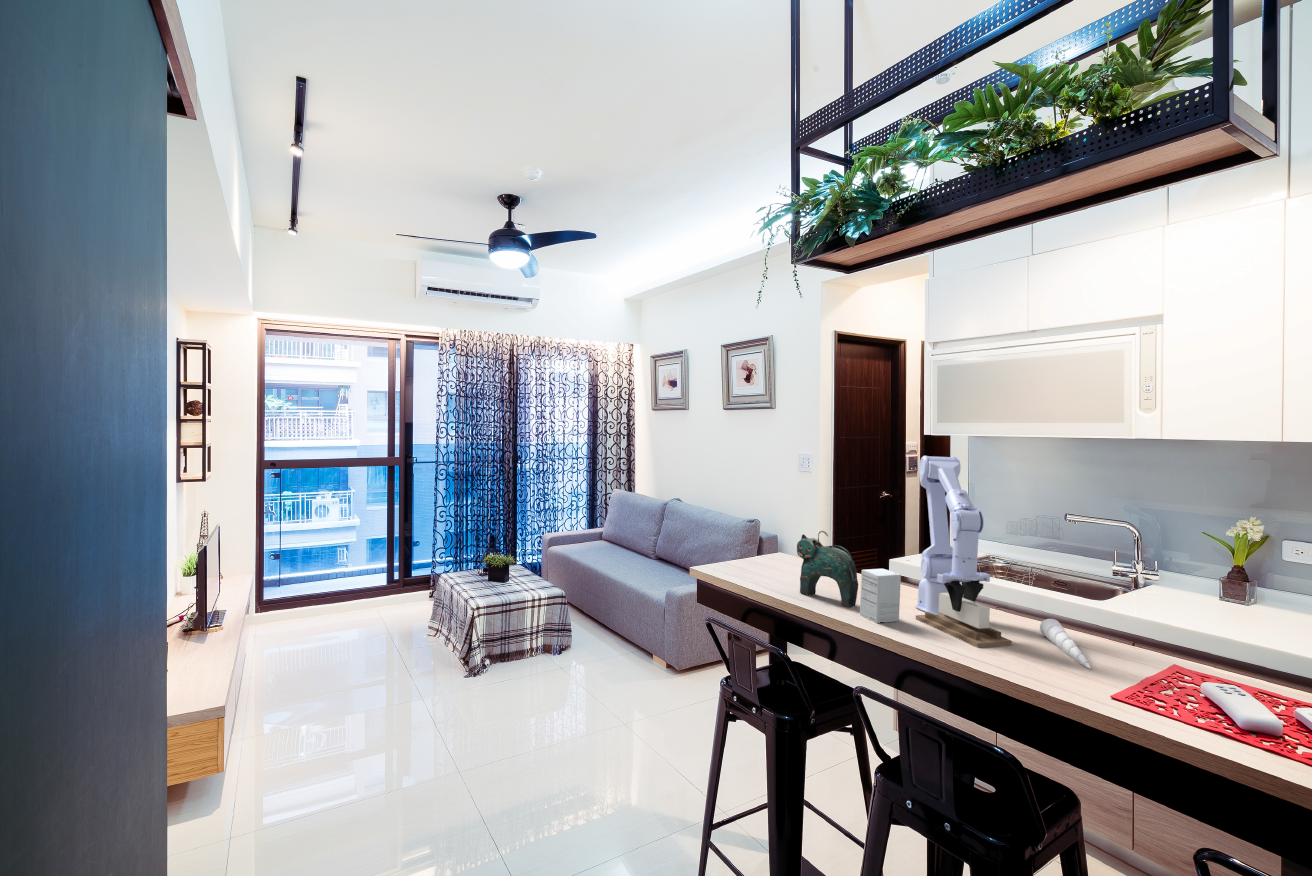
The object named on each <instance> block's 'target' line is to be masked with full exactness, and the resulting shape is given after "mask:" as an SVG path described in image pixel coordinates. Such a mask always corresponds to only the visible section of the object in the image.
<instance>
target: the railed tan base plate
mask: <svg viewBox="0 0 1312 876" xmlns="http://www.w3.org/2000/svg"><path fill="white" fill-rule="evenodd" d="M915 620H917V621H919V622H921V621H922V622H921V623H923V622H924V624H925V623H926V625H928V626H930V627H932V628H934V629H936V628H937V630H939V631H941V632H943V633H946V634H947V633H948V634H947V635H949V634H950V635H949V636H952V637H954V638H956V639H958V638H959V639H958V640H960V639H961V641H962V640H963V642H965V643H967V644H969V645H971V646H973V647H976V648H988V647H1002V646H1003V647H1004V646H1012V645H1013V640H1011V639H1008V638H1006V637H1004V636H1002V631H999V630H996V629H995V628H992V627H990V626H989V628H982V629H978V628H976V627H974V626H971V625H969V624H966V623H964V622H962V621H959V620H957V619H954V618H952V617H950V616H947V615H945V614H934V613H931V612H925V611H924V614H917V615H915Z"/></svg>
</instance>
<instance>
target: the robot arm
mask: <svg viewBox="0 0 1312 876" xmlns="http://www.w3.org/2000/svg"><path fill="white" fill-rule="evenodd" d="M918 473H919V474H918V475H919V483H920V486H921V487H923V488H924V489H925V490H926V491H925V492H926V498H927V510H928V521H929V534H930V535H929V537H930V546H929V547H927V548H926V549H924V550H923V551H922V553H921V561H920V573H921V575H922V577H923V578H922V579H921V580H920V582H919V583H918V592H917V605H915V606H914V608H915V609H918V610H921V611H922V612H924V613H925V612H931V613H934V614H942V613H940V612H938V609H939V593H949V596H950V600H951V604H952V609H953V610H955V611H958V612H960V610H961V605H962V598H965V599H968V600H970V601H973V602H976V600H977V598H978V596H979V595H980V593H981V592H982V590H983V589H984V583H981V582H986V583H987V582H988V583H989V582H991V574H990V573H988V572H978V557H979V555H978V554H979V552H978V551H979V534H980V533H982V532H983V530H984V523H985V522H984V516H983V512H982V511H981V510H980V509H979V508H977V507H974V504H973V502H972V500H971V498H970V496H969V494H968V492H967V491H966V490H964V489H962V487H961V485H960V483H961V482H960V481H959V476H960V474H961V462H960V459H958V457H957V456H953V457H952V456H951V457H950V456H949V457H948V456H929V455H923V456H922V457H921V458H920V460H919V466H918ZM947 509H948V510H949V513H950V522H948V510H947ZM949 523H950V529H951V533H949V532H950V531H949ZM950 535H951V538H952V540H953V541H952V545H951V543H950V542H951V541H950Z"/></svg>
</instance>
